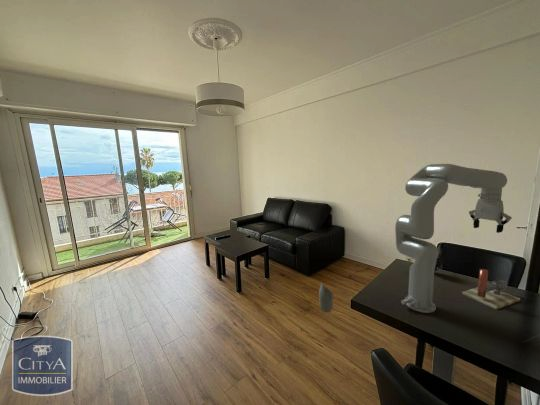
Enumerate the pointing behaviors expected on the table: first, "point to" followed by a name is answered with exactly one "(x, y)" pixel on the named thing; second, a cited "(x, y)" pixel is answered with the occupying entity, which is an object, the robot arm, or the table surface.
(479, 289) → the lever
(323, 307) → the glass bottle
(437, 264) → the fruit
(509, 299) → the board
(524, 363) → the table surface
